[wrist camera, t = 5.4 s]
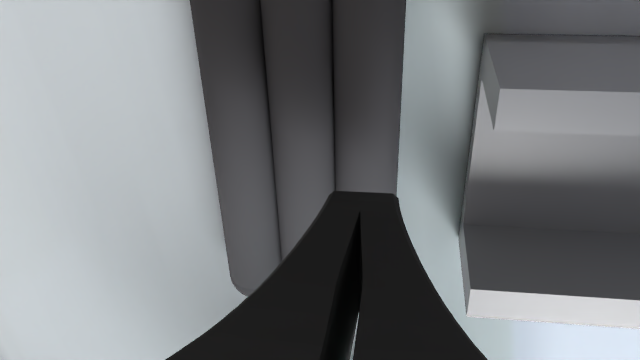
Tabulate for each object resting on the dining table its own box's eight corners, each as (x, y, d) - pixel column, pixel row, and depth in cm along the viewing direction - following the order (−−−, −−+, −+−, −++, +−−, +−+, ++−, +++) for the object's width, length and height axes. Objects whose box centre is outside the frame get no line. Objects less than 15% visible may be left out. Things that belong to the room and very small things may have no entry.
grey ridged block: (172, -45, 12) (195, -62, 14) (227, 307, 18) (240, 270, 19) (408, -45, 12) (408, -62, 13) (390, 319, 17) (392, 280, 19)
